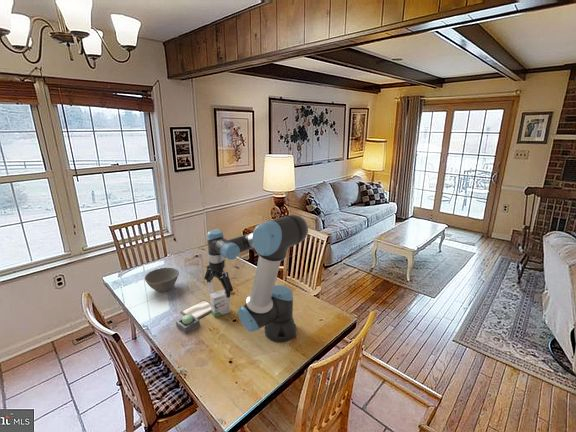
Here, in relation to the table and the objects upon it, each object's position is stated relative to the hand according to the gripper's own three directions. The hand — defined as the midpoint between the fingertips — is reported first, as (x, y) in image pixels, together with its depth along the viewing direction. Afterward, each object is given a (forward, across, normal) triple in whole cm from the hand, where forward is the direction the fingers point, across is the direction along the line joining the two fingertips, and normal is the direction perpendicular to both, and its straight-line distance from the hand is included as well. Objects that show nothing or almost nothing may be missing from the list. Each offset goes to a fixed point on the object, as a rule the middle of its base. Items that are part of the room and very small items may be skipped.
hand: (219, 297), depth 155 cm
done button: (+8, +3, +17) cm, 19 cm away
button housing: (+9, +3, +17) cm, 20 cm away
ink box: (+10, -1, 0) cm, 10 cm away
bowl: (+10, +44, +7) cm, 46 cm away
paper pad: (+10, +10, +6) cm, 15 cm away
